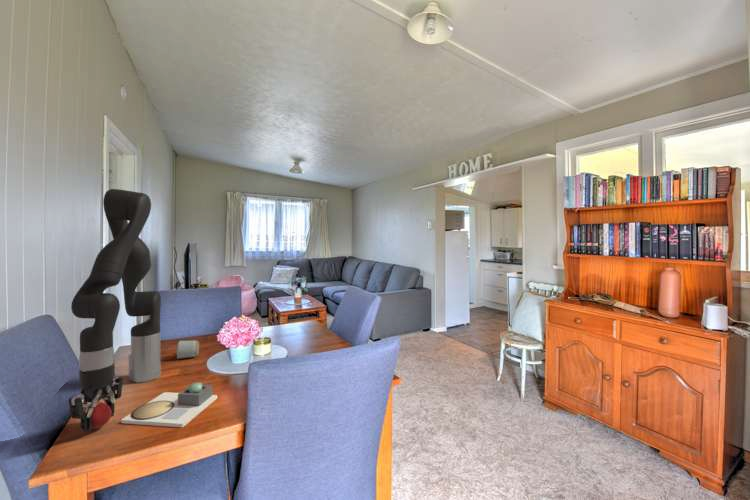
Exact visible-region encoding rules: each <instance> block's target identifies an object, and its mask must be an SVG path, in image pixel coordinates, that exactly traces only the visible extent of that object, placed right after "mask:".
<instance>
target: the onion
mask: <svg viewBox="0 0 750 500" xmlns="http://www.w3.org/2000/svg"><path fill="white" fill-rule="evenodd" d="M111 414H112V411H111V408H110V406H109V405H107V404H106V403H105V402H102V401H101V400H99V401H98V402H97V404H96V407H95V408H93V411H92V414H91V416H92V429H95V430H100V429H101V428H103V426H105V425H106V424H107V423H108V422H109V420H110V419H111V418H112V417H111Z"/></svg>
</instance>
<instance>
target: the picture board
mask: <svg viewBox="0 0 750 500" xmlns="http://www.w3.org/2000/svg"><path fill="white" fill-rule="evenodd" d="M179 393H180V392H169V391H164V392H163V393H161V394H159V395H157V396H156V397H154V398H153V399H152V400H150V401H148V402H147V403H145V404H143V405H140V406H139V407H137V408H135V409H134V410H132V412H131V413H129V414H128V415H126V416H125V417H123V418H121V419H120V424H126V425H129V424H130V425H140V426H141V425H142V426H143V425H144V426H156V427H169V428H170V427H172V428H174V427H175V428H184V427H185V426H186V425H187V424H189V422H191V421H192V420H193V419H194V418H195V417H197V416H198V415H199V414H201V412H203V411H204V410H205V409H206V408H207V407H209V406H210V405H211V404H212V403H213V402H215V401H217V399H218V395H217V394H212V396H211V397H210V398H209V399H207V400H206V401H205V402H204V403H202V404H201V405H200V406H185V405H178V394H179Z"/></svg>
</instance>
